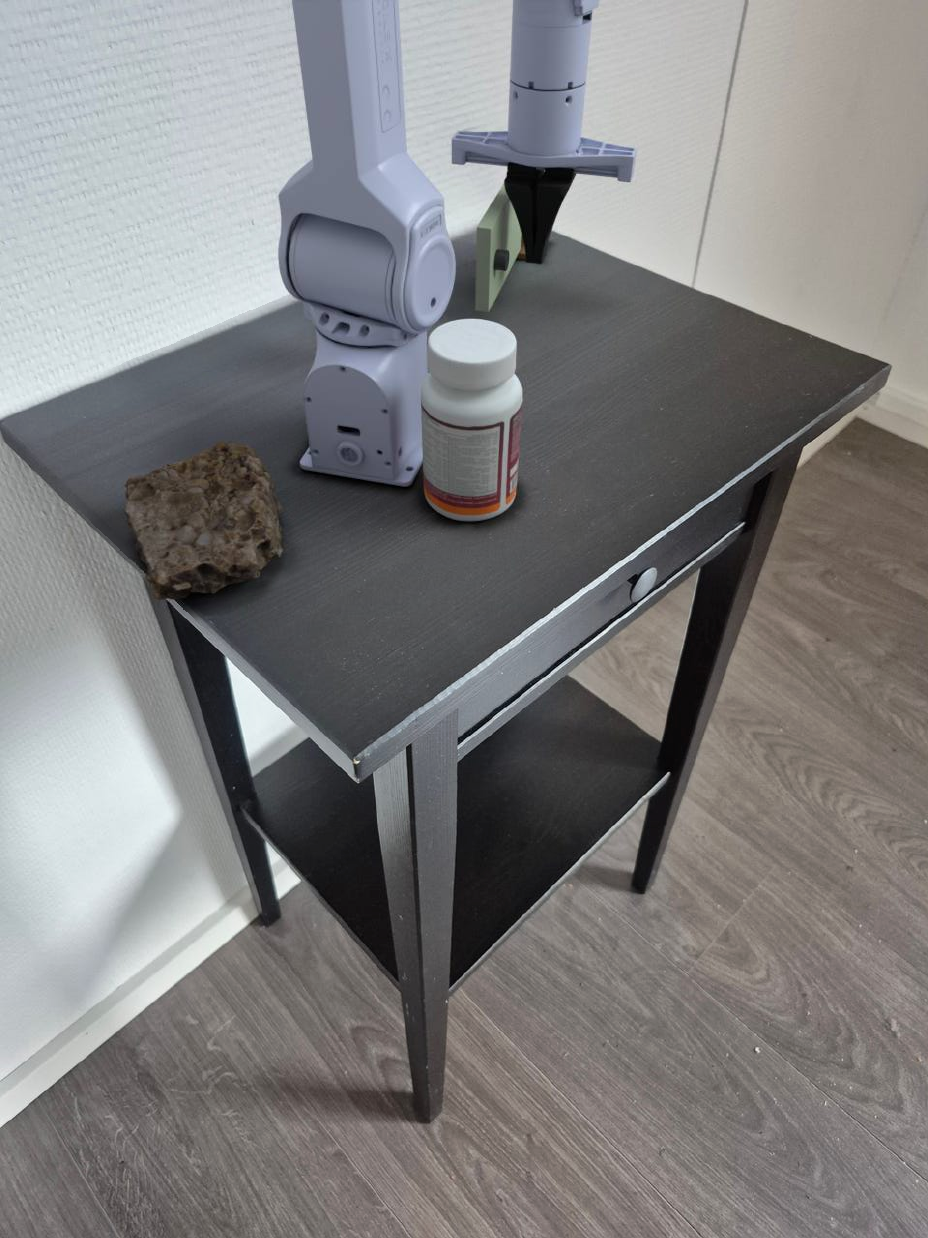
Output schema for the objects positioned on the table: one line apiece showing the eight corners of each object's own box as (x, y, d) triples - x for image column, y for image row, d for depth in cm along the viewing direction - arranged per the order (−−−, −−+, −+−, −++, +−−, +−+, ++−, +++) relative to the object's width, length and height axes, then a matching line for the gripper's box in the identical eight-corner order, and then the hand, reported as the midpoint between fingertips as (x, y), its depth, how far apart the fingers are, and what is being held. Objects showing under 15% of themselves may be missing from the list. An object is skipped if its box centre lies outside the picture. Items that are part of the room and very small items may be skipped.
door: (500, 313, 75) (503, 230, 70) (475, 310, 75) (476, 226, 70) (531, 250, 84) (536, 171, 78) (508, 247, 84) (511, 169, 79)
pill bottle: (475, 457, 62) (479, 303, 54) (535, 500, 59) (548, 343, 51) (405, 491, 59) (397, 334, 51) (463, 538, 56) (464, 378, 48)
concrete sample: (243, 407, 57) (248, 464, 61) (83, 454, 53) (100, 512, 57) (326, 530, 52) (326, 583, 56) (157, 593, 48) (170, 645, 52)
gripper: (650, 72, 68) (626, 248, 78) (467, 57, 71) (466, 230, 80) (639, 100, 63) (614, 284, 73) (443, 83, 66) (445, 263, 76)
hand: (535, 258), depth 76 cm, fingers closed
